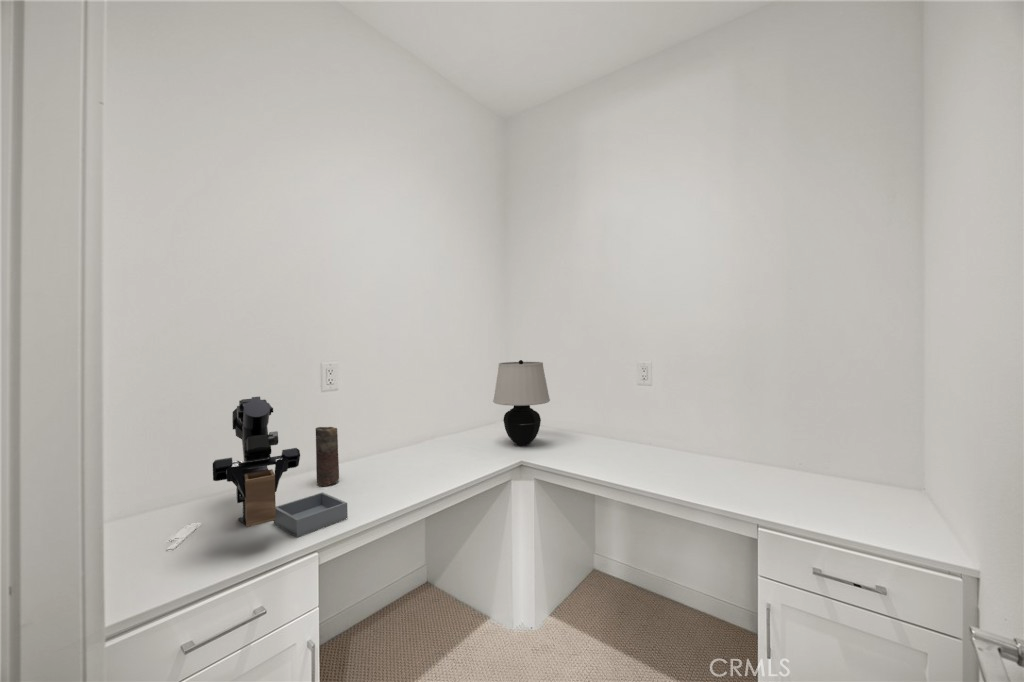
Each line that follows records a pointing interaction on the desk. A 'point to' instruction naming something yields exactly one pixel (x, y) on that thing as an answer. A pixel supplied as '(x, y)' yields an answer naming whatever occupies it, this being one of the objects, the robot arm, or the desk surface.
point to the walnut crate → (260, 497)
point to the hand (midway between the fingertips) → (260, 494)
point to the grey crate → (310, 514)
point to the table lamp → (521, 398)
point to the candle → (327, 456)
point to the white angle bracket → (182, 535)
